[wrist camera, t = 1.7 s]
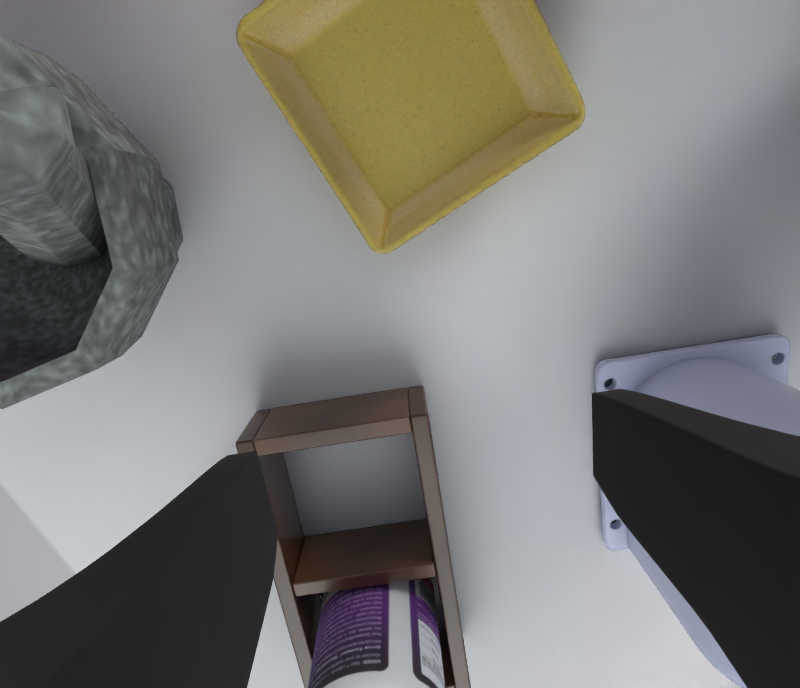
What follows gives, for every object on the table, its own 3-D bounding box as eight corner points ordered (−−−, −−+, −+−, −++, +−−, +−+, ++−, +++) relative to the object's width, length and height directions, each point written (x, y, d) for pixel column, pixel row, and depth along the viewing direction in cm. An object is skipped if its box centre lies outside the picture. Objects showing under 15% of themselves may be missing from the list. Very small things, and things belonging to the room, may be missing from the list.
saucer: (572, 128, 18) (595, 119, 16) (379, 255, 19) (378, 261, 17) (453, -110, 16) (462, -155, 14) (246, 49, 17) (226, 28, 15)
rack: (423, 384, 21) (428, 413, 18) (462, 637, 25) (472, 695, 22) (256, 410, 21) (234, 443, 18) (321, 657, 25) (312, 716, 22)
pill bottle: (312, 618, 24) (261, 879, 15) (342, 531, 23) (307, 759, 13) (414, 643, 25) (427, 910, 15) (449, 560, 23) (487, 798, 14)
